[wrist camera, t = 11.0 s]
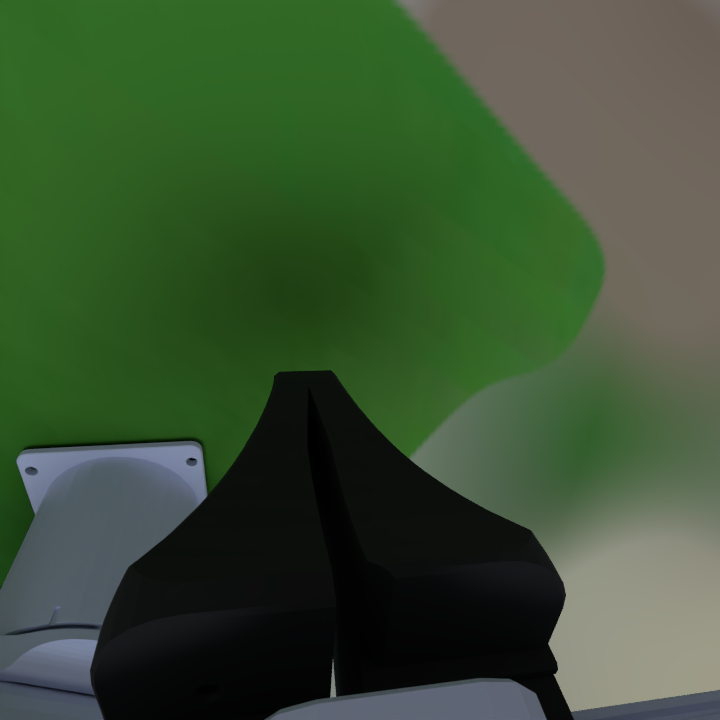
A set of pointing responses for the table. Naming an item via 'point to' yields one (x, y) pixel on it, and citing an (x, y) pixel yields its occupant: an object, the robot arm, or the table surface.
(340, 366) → the table surface
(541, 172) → the table surface
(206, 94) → the table surface
